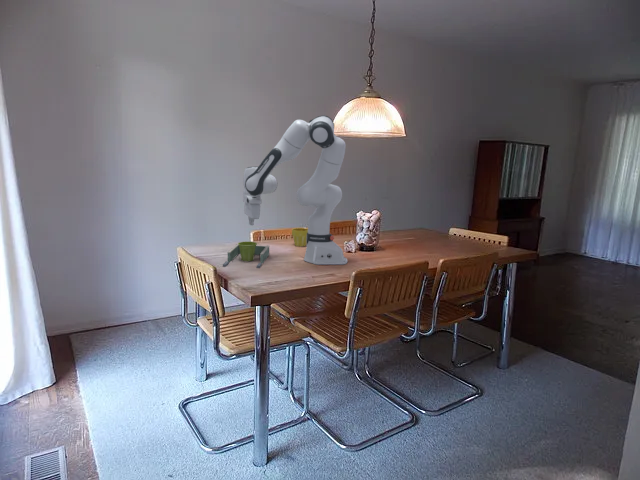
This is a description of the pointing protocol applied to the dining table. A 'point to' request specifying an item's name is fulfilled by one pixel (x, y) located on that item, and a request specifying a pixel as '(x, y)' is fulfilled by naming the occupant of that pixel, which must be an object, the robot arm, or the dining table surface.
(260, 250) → the green u-shaped frame
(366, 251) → the dining table surface
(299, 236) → the plant pot
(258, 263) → the strips
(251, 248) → the plant pot
